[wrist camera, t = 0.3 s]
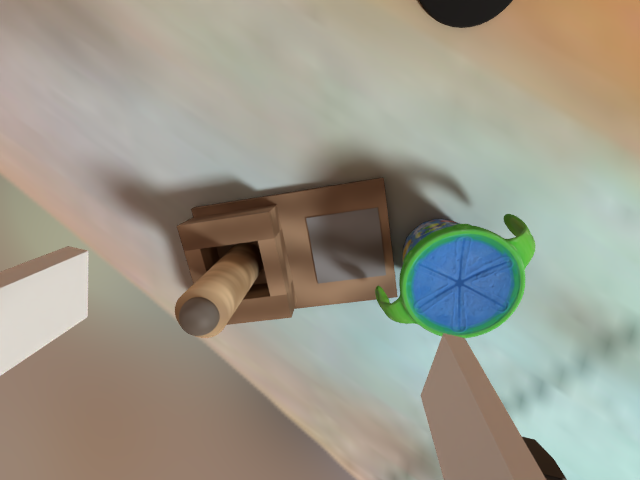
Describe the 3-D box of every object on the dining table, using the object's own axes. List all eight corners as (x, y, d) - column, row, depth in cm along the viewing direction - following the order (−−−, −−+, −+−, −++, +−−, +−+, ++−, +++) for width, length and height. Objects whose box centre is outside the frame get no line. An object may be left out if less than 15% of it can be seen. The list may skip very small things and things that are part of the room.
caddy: (194, 207, 40) (174, 216, 36) (382, 177, 38) (387, 183, 33) (223, 313, 44) (208, 334, 39) (396, 293, 41) (402, 313, 37)
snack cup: (391, 312, 42) (403, 365, 32) (353, 239, 40) (354, 272, 30) (518, 260, 39) (574, 302, 29) (485, 177, 37) (534, 192, 27)
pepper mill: (224, 245, 40) (156, 303, 26) (260, 240, 40) (210, 297, 26) (233, 279, 42) (172, 353, 27) (268, 274, 41) (224, 347, 27)
